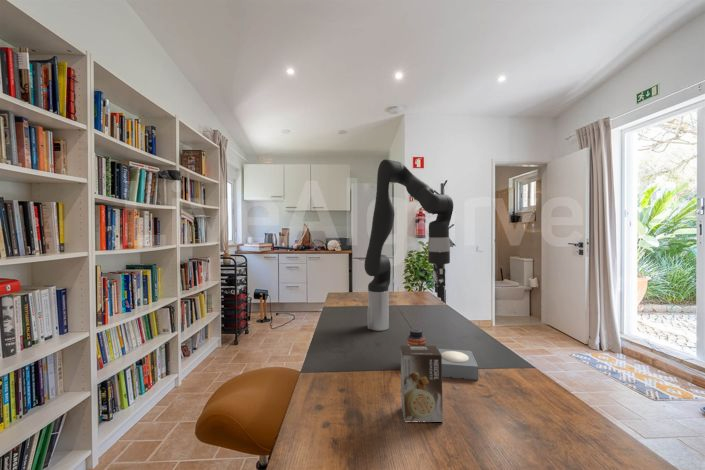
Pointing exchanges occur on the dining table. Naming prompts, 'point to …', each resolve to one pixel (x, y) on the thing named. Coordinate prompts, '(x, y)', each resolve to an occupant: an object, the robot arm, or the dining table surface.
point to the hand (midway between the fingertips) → (439, 295)
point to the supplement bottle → (416, 338)
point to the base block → (458, 364)
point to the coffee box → (421, 383)
